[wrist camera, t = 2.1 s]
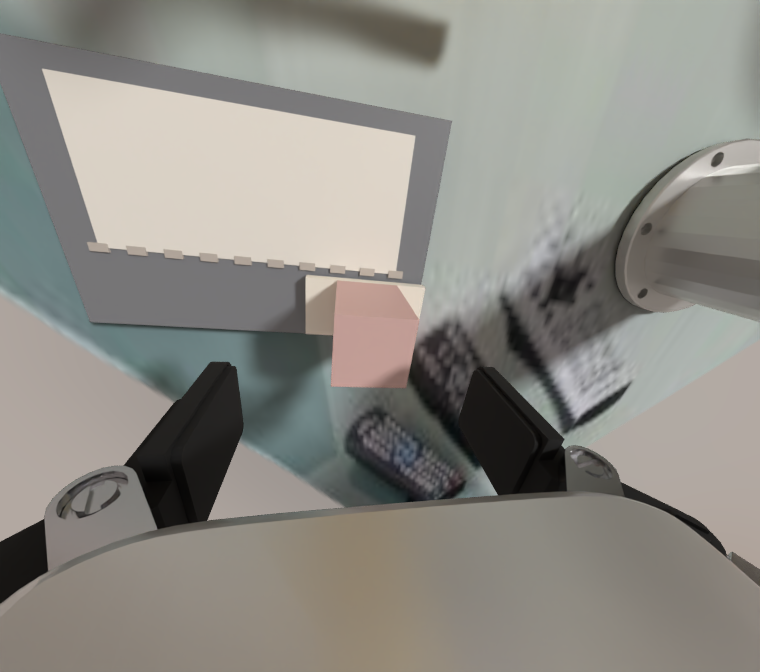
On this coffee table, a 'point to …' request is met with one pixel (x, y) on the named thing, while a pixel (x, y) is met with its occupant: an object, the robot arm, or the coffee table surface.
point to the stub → (365, 328)
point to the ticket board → (217, 187)
